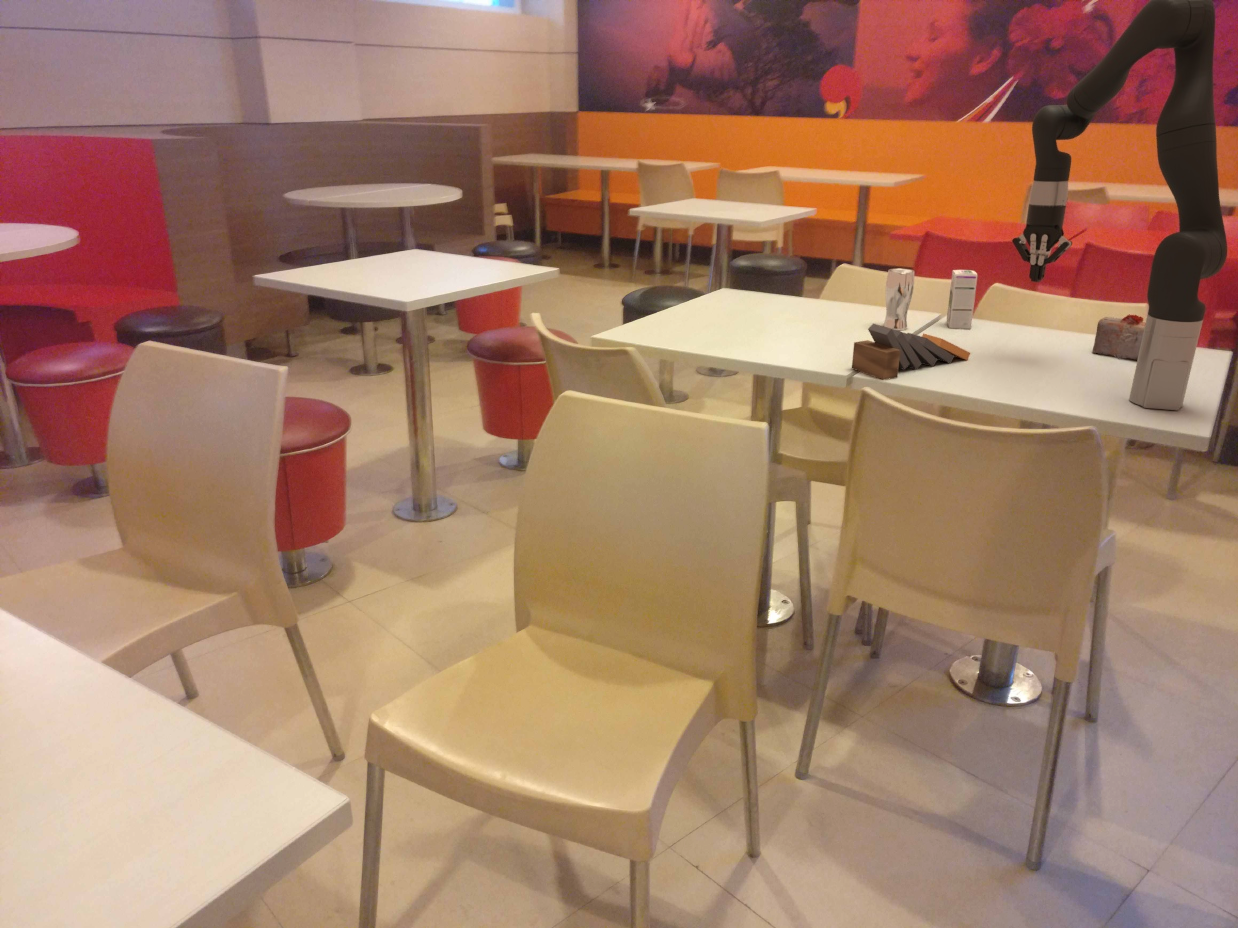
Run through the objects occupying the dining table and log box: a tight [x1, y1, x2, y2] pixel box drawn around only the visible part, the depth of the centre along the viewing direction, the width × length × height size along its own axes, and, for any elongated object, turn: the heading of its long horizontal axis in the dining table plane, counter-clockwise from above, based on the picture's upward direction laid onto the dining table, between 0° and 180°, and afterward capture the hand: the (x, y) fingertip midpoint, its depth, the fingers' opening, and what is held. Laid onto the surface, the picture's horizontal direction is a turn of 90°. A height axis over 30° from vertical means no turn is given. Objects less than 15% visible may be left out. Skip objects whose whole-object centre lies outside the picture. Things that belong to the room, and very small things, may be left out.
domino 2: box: [892, 329, 923, 370], centre depth 199 cm, size 2×6×11 cm
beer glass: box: [882, 268, 915, 331], centre depth 234 cm, size 7×7×15 cm
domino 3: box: [901, 331, 938, 367], centre depth 201 cm, size 2×6×11 cm
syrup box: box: [945, 269, 978, 330], centre depth 235 cm, size 6×6×14 cm
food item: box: [1091, 314, 1146, 361], centre depth 208 cm, size 14×8×10 cm, turn 49°
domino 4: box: [907, 332, 955, 364], centre depth 204 cm, size 2×6×11 cm
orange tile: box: [921, 333, 971, 361], centre depth 206 cm, size 2×6×11 cm
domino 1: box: [867, 323, 909, 370], centre depth 197 cm, size 2×6×11 cm
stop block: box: [851, 339, 901, 380], centre depth 197 cm, size 4×10×6 cm, turn 28°
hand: (1036, 281), depth 204 cm, fingers closed
